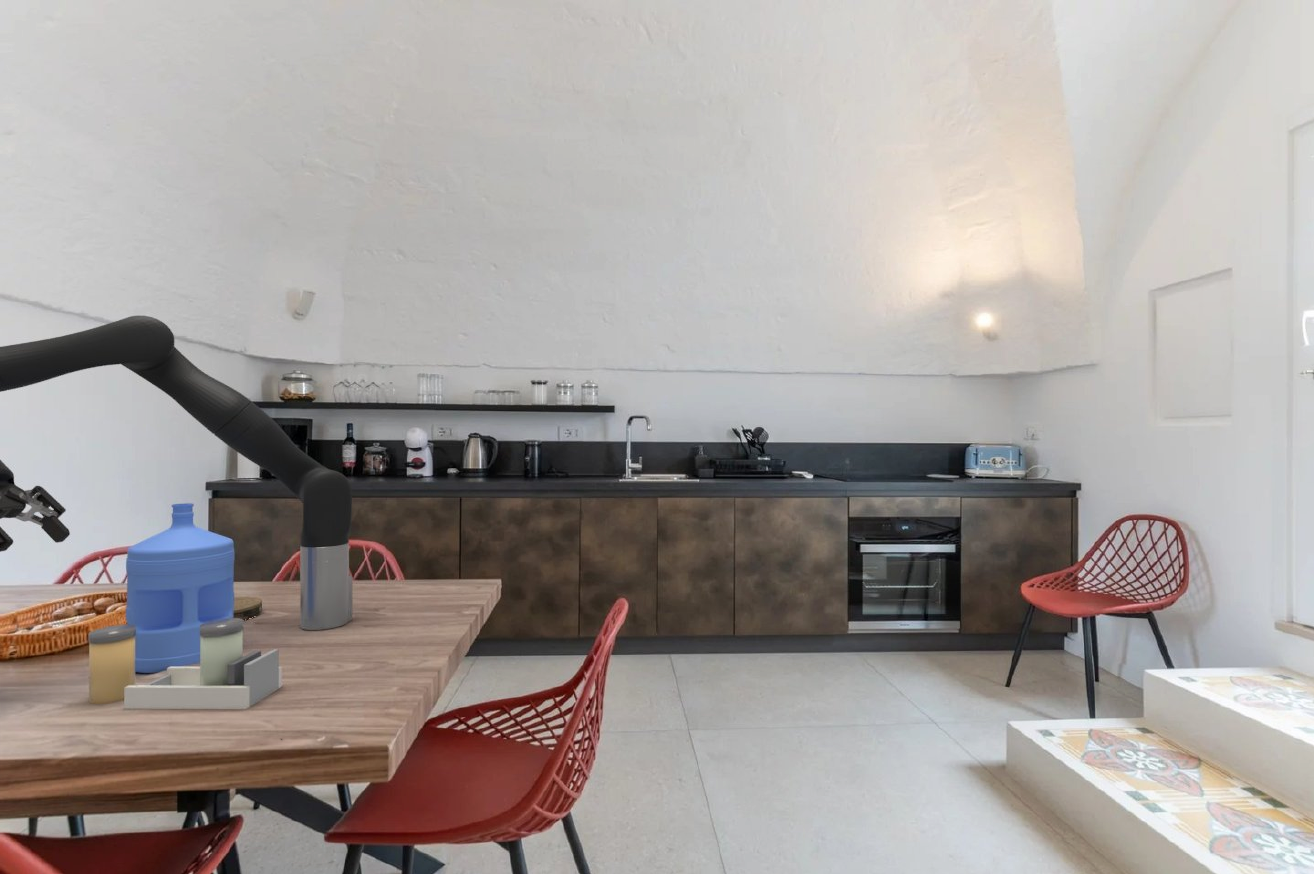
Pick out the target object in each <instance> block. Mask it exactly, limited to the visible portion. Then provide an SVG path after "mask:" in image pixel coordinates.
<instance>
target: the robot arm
mask: <svg viewBox="0 0 1314 874" xmlns="http://www.w3.org/2000/svg"><path fill="white" fill-rule="evenodd" d="M113 365H114V366H115V365H122V366H123V367H125V368H126V369H128V370H129V371H132V372H133V373H134V374H136V375H138V376H139V377H141V378H143V380H145V381H147V382H149V383H150V384H152V385H153V386H154V387H156V388H158V389H160V390H161V391H162V392H163V393H165V394H166V395H167V396H169V397H170V398H172V399H173V400H174V401H175V402H176V403H177V404H178V405H179V406H180V407H181V408H182V409H183V410H185V411H186V412H187V413H188V414H189V415H190V416H191V417H192V418H194V419H195V420H196V421H197V422H199V423H200V424H201V425H202V426H203V427H204V428H205V429H207V430H208V431H209V432H211V434H213V435H214V436H215V437H216V438H218V439H219V440H220V441H222V442H223V443H224V444H226V445H227V446H228V447H230V448H231V449H232V450H234V451H235V452H237V454H239V455H240V456H243V457H244V458H246V459H247V460H249V461H250V462H252V463H253V464H255V465H257V466H259V467H261V468H263V469H264V470H265V471H267V472H269V473H270V474H271V475H272V476H274V477H275V478H277V479H278V481H280V482H281V483H282V485H284V486H285V487H287V489H288V490H289V491H290V492H292V493H293V495H295V497H296V498H297V499H299V500H300V501H301V503H302V505H303V506H302V528H301V533H300V539H299V540H300V541H299V542H300V546H299V547H300V548H299V549H300V551H299V552H300V553H299V554H300V555H299V559H300V561H299V562H300V563H299V564H300V567H299V569H300V572H299V576H300V577H299V578H300V581H299V582H300V583H299V584H300V588H299V589H300V590H299V594H300V595H299V596H300V598H299V601H300V604H299V606H300V607H299V610H300V612H299V617H300V618H299V621H300V622H299V623H300V625H299V626H300V627H299V628H300V629H302V630H307V631H316V630H317V631H320V630H328V629H334V628H338V627H341V626H344V625H346V624H348V623H349V622H350V621H352V620H353V614H354V613H353V603H354V601H353V598H354V597H353V596H354V595H353V594H354V593H353V589H354V588H353V582H354V580H353V576H351V575H349V574H350V573H349V572H350V566H349V565H350V555H349V554H350V548H349V547H350V543H349V542H350V533H351V528H352V513H353V512H352V511H353V510H352V509H353V492H352V491H353V490H352V486H351V483H350V481H349V479H348V478H347V477H346V476H345V475H344V474H343V473H341V472H339V471H337V470H333V469H330V468H328V467H326V466H324V465H322V464H321V463H319V462H318V461H316V460H315V459H314V458H312V457H311V456H309V455H308V454H306V453H305V452H304V451H303V450H301V449H300V448H299V447H298V445H296V444H295V443H294V442H293V440H292V439H291V438H290V437H289V435H287V434H286V432H285V431H284V430H283V429H282V428H281V427H280V425H278V423H277V422H276V421H275V420H274V419H273V418H272V417H271V416H269V415H268V414H267V413H266V412H265V411H264V410H263V409H261V408H260V407H259V406H258V405H257V404H255V403H254V402H253V401H252V400H251V399H250V398H248V397H247V396H246V395H244V394H243V393H241V392H239V391H238V390H237V389H234V388H233V387H230V386H229V385H227V384H225V383H224V382H222V381H219V380H217V379H216V378H214V377H212V376H210V375H209V374H207V373H205V372H204V371H203V370H201V369H200V368H198V367H197V366H196V365H194V364H193V363H192V362H191V361H190V359H188V358H187V357H186V356H185V355H184V354H182V352H181V351H180V350H179V349H178V348H177V347H175V335H174V333H173V332H172V329H171V328H170V327H169V326H168V325H167V324H166V323H164V322H163V321H162V320H160V319H158V318H156V317H152V316H149V315H139V314H137V315H132V316H128V317H124V318H122V319H119V320H116V321H112V322H110V323H105V324H104V325H99V326H96V327H93V328H89V329H85V330H82V331H78V332H75V333H70V334H69V333H68V334H66V335H61V336H57V337H51V338H46V339H45V338H44V339H40V340H35V341H28V342H22V343H15V344H9V345H3V346H0V392H5V391H11V390H15V389H19V388H25V387H28V386H32V385H35V384H36V385H37V384H38V383H42V382H45V381H48V380H51V379H55V378H58V377H60V376H64V375H68V374H71V373H75V372H79V371H83V370H87V369H92V368H97V367H99V368H100V367H107V366H113ZM27 505H28V506H30V507H31V508H30V509H29V510H28V511H27V512H23V511H24V510H25V509H26V508H27ZM51 508H52V509H51ZM66 511H67V510H66V508H65V507H64V506H63V505H62V504H61V503H60V502H58V501H57V500H56V499H55V498H54V497H53V496H52V495H51V494H50V493H49V492H48V491H47V490H46V489H45V488H43V486H40V485H35V486H34V487H33V488H31V489H27V490H24V489H22V488H21V487H19V486H18V485H16V483H15V475H14V473H13V471H12V470H11V469H10V468H9V467H8V466H7V465H6V464H5V463H4V462H3V460H1V459H0V520H1V519H11V518H12V519H17V520H20V521H21V522H32V523H34V524H36V525H39V526H41V527H40V528H41V529H42V530H43V531H44V532H45V533H46V534H47V535H48V537H50V538H51V539H52V540H53V542H54V543H62V542H65V540H66V539H67V538H68V537H69V536H70V535H71V532H70V529H69V528H68V527H67V526H66V525H65V524H64V523H63V522H62V521H61V519H59V518H60V517H61V516H62V515H63V514H64V513H65V512H66ZM35 513H40V515H41V516H42V517H40V516H38V515H36V514H35ZM13 543H14V540H13V538H12V537H11V536H10V535H9V534H8V533H7V532H6V531H5V530H4V529H3V527H1V526H0V552H5V551H7V550H8V549H9V548H10V547H11V546H12V545H13Z"/></svg>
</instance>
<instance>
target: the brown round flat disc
mask: <svg viewBox="0 0 1314 874" xmlns="http://www.w3.org/2000/svg"><path fill="white" fill-rule="evenodd" d="M261 612H262V613H263V600H262V598H259V597H257V596H256V597H255V596H234V606H233V618H239V619H243V620H245V619H249V618H252V617H254V616H257V617H259V616H260V615H261V614H262V613H261ZM260 613H261V614H260ZM258 615H259V616H258ZM254 618H255V617H254ZM252 619H253V618H252ZM249 620H250V619H249Z"/></svg>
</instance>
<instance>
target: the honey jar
mask: <svg viewBox="0 0 1314 874" xmlns="http://www.w3.org/2000/svg"><path fill="white" fill-rule="evenodd" d="M135 635H136V626H135V625H127V624H115V625H109V626H104V627H101V628H97V629H93V630H91V631H89V632H88V643H89V647H88V648H89V651H88V655H89V656H88V659H89V660H88V664H89V665H88V666H89V667H88V670H89V671H88V673H89V674H88V675H89V676H88V678H89V679H88V683H89V685H88V702H89V704H92V705H103V704H110V703H114V702H119V701H122V700H124V687H127V686H129V685H136V672H135Z"/></svg>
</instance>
